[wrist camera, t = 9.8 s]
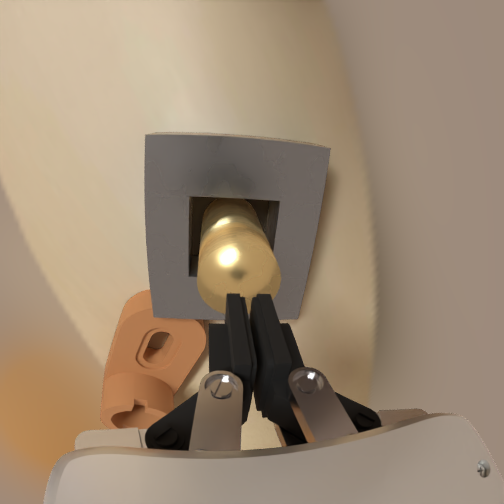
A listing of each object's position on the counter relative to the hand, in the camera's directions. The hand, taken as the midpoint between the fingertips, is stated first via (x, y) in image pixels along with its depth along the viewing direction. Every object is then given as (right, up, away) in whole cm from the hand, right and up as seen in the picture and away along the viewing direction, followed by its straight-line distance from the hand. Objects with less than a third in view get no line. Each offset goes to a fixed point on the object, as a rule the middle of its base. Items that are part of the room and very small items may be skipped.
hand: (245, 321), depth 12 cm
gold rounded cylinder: (-1, +5, +11) cm, 12 cm away
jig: (-2, +5, +11) cm, 12 cm away
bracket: (-11, -8, +17) cm, 21 cm away
